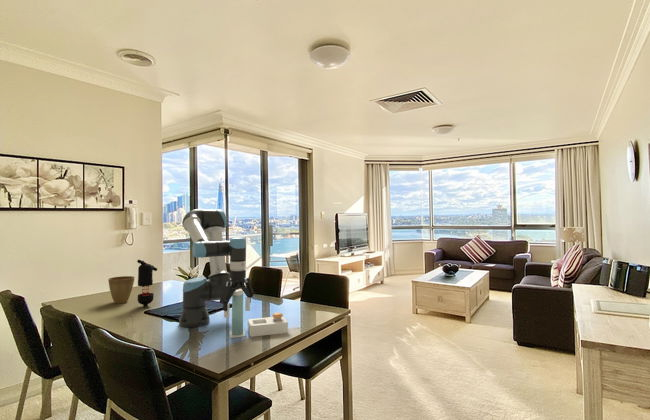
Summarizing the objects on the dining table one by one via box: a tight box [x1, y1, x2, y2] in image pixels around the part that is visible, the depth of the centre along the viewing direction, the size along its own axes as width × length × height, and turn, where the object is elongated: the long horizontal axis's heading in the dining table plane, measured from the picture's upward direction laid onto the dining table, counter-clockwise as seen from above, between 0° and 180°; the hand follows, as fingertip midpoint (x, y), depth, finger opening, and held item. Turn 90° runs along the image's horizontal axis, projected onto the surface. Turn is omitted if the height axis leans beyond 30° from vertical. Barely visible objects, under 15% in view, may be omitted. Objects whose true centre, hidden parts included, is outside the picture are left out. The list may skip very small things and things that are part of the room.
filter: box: [136, 259, 158, 308], centre depth 210 cm, size 14×9×30 cm
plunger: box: [272, 312, 284, 322], centre depth 166 cm, size 5×5×4 cm
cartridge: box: [231, 290, 244, 335], centre depth 160 cm, size 5×5×20 cm
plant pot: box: [107, 275, 135, 304], centre depth 219 cm, size 15×15×16 cm
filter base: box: [247, 316, 289, 338], centre depth 165 cm, size 18×11×5 cm, turn 109°
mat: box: [229, 329, 246, 339], centre depth 160 cm, size 7×9×1 cm
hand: (237, 313), depth 160 cm, fingers open, 13 cm apart
